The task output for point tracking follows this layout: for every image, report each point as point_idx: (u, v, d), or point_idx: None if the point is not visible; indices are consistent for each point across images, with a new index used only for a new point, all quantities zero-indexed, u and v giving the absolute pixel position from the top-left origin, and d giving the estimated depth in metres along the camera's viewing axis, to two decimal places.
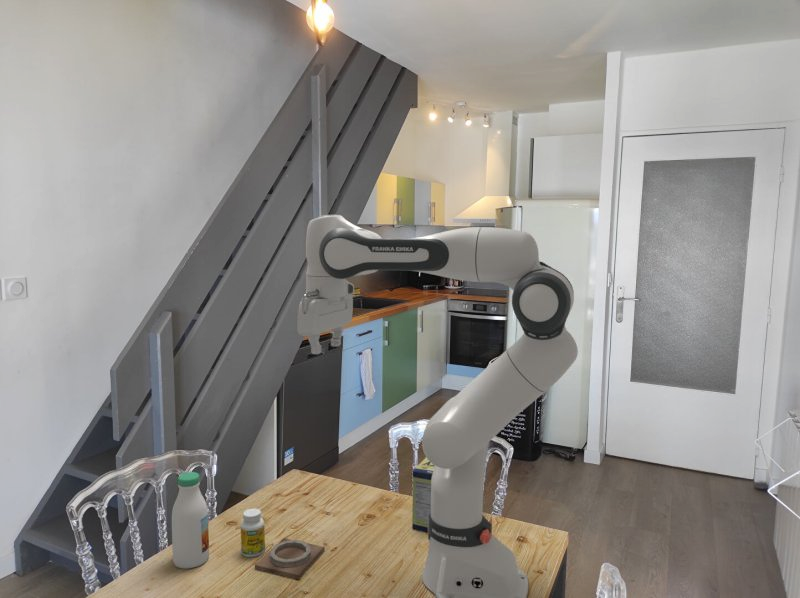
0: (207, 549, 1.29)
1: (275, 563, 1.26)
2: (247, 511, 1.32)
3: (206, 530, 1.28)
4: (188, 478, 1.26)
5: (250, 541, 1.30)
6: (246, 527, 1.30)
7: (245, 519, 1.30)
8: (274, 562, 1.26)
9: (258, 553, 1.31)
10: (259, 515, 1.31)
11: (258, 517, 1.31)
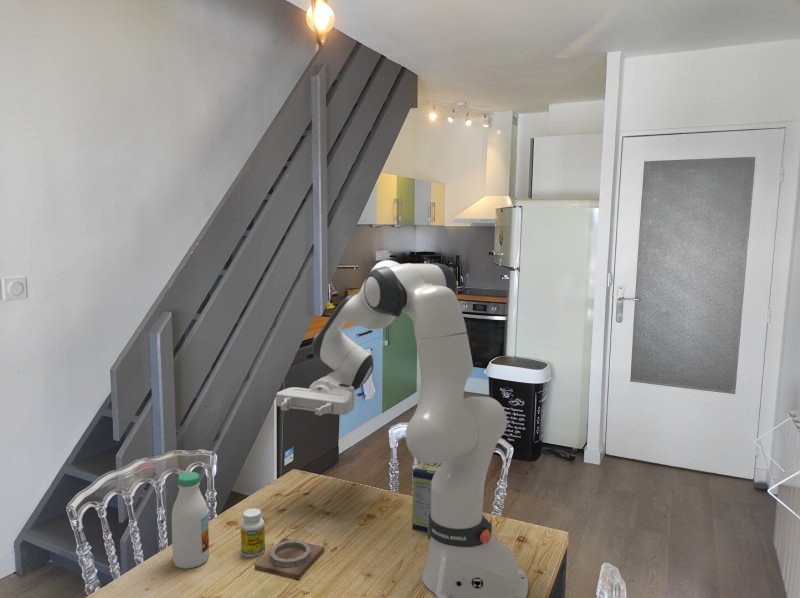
0: (207, 549, 1.29)
1: (275, 563, 1.26)
2: (247, 511, 1.32)
3: (206, 530, 1.28)
4: (188, 478, 1.26)
5: (250, 541, 1.30)
6: (246, 527, 1.30)
7: (245, 519, 1.30)
8: (274, 562, 1.26)
9: (258, 553, 1.31)
10: (259, 515, 1.31)
11: (258, 517, 1.31)
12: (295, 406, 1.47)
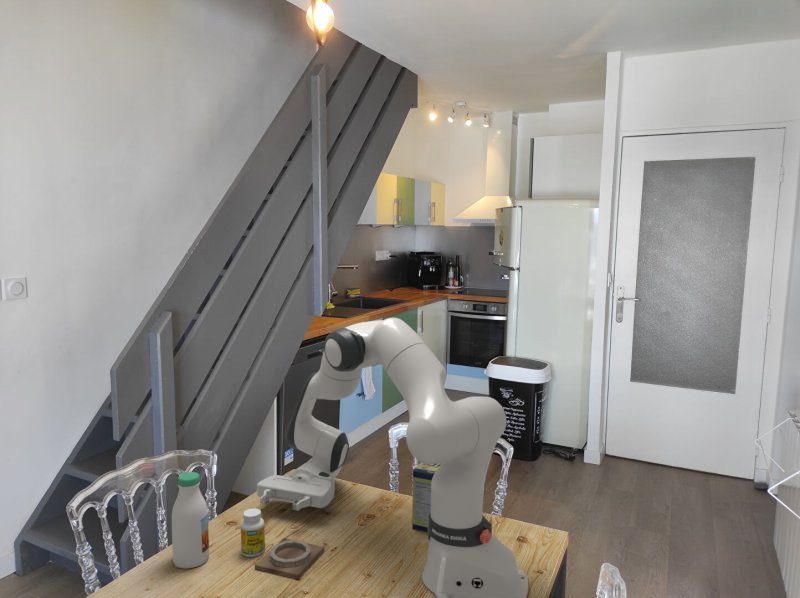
0: (207, 549, 1.29)
1: (275, 563, 1.26)
2: (247, 511, 1.32)
3: (206, 530, 1.28)
4: (188, 478, 1.26)
5: (250, 541, 1.30)
6: (246, 527, 1.30)
7: (245, 519, 1.30)
8: (274, 562, 1.26)
9: (258, 553, 1.31)
10: (259, 515, 1.31)
11: (258, 517, 1.31)
12: (275, 497, 1.49)
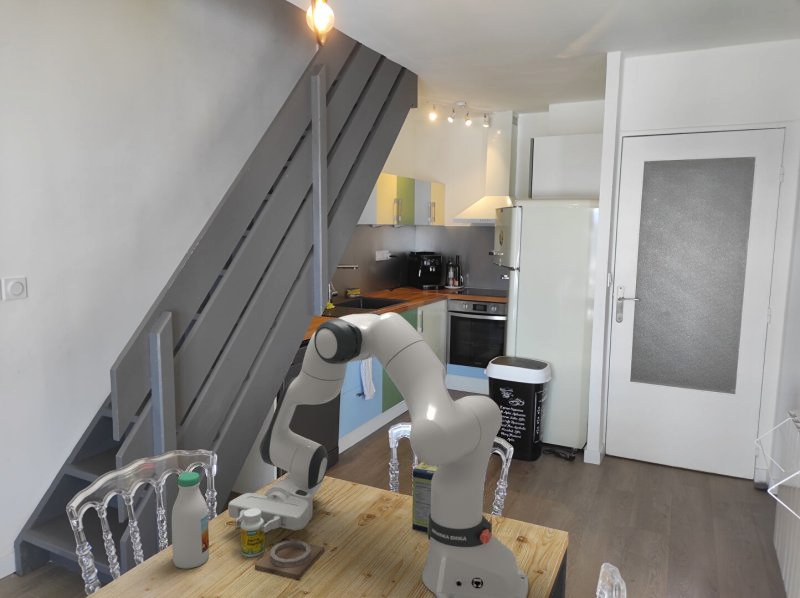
0: (207, 549, 1.29)
1: (275, 563, 1.26)
2: (247, 511, 1.32)
3: (206, 530, 1.28)
4: (188, 478, 1.26)
5: (250, 541, 1.30)
6: (246, 527, 1.30)
7: (245, 519, 1.30)
8: (274, 562, 1.26)
9: (258, 553, 1.31)
10: (259, 515, 1.31)
11: (258, 517, 1.31)
12: None
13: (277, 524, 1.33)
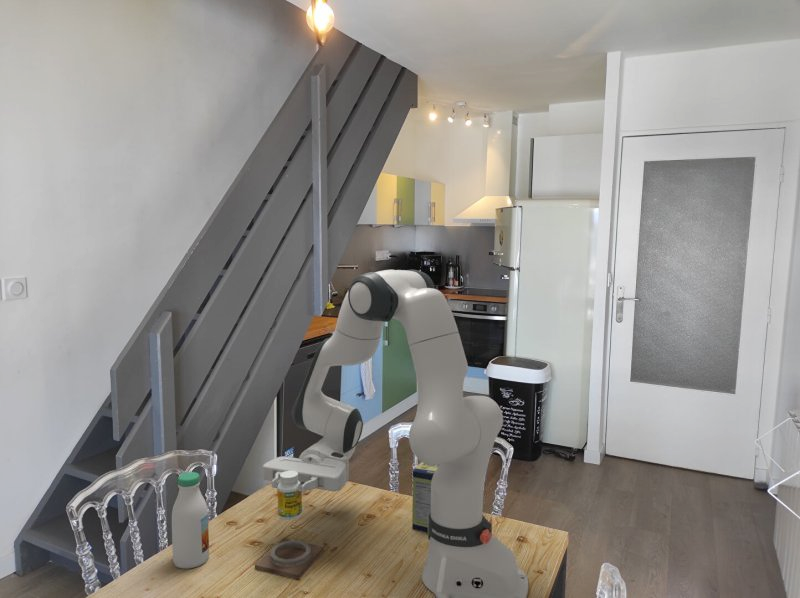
0: (207, 549, 1.29)
1: (275, 563, 1.26)
2: (284, 473, 1.28)
3: (206, 530, 1.28)
4: (188, 478, 1.26)
5: (288, 503, 1.25)
6: (283, 488, 1.25)
7: (282, 480, 1.26)
8: (274, 562, 1.26)
9: (296, 516, 1.26)
10: (296, 477, 1.27)
11: (295, 478, 1.26)
12: None
13: (315, 485, 1.28)
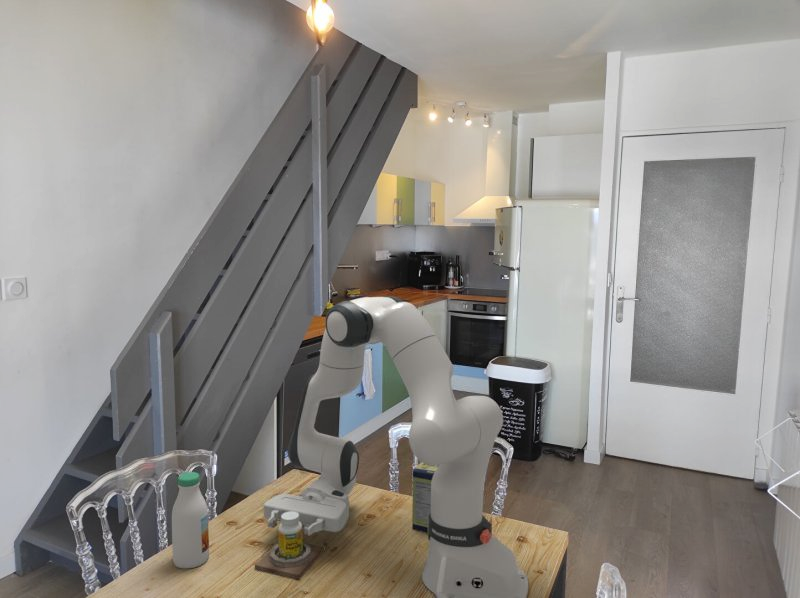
0: (207, 549, 1.29)
1: (275, 563, 1.26)
2: (285, 514, 1.29)
3: (206, 530, 1.28)
4: (188, 478, 1.26)
5: (289, 545, 1.27)
6: (284, 530, 1.26)
7: (283, 522, 1.27)
8: (274, 562, 1.26)
9: (296, 557, 1.28)
10: (297, 518, 1.28)
11: (296, 520, 1.28)
12: None
13: (320, 527, 1.29)
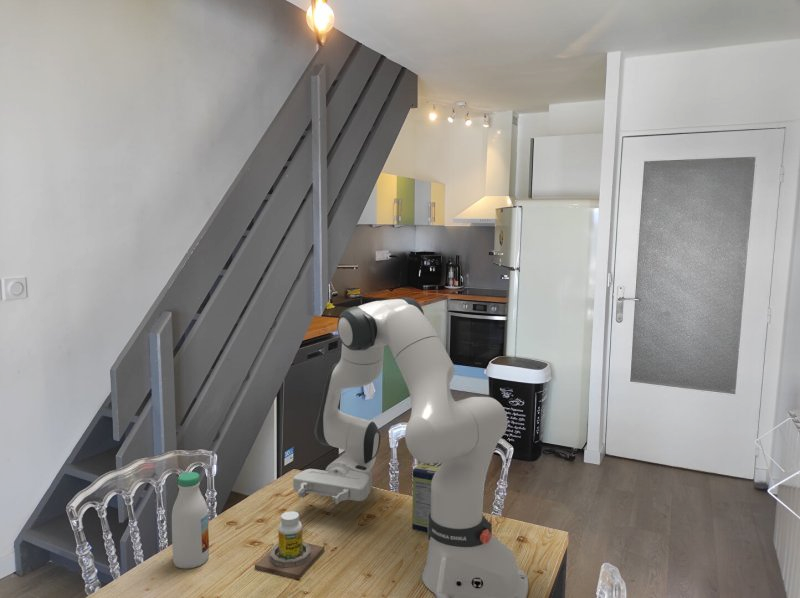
0: (207, 549, 1.29)
1: (275, 563, 1.26)
2: (285, 514, 1.29)
3: (206, 530, 1.28)
4: (188, 478, 1.26)
5: (289, 545, 1.27)
6: (284, 530, 1.26)
7: (283, 522, 1.27)
8: (274, 562, 1.26)
9: (296, 557, 1.28)
10: (297, 518, 1.28)
11: (296, 520, 1.28)
12: (312, 491, 1.46)
13: (346, 496, 1.41)
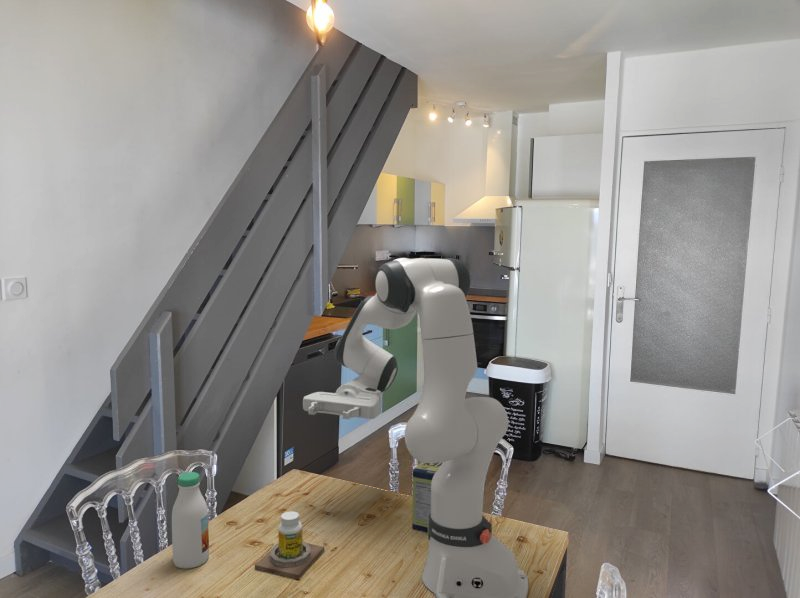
0: (207, 549, 1.29)
1: (275, 563, 1.26)
2: (285, 514, 1.29)
3: (206, 530, 1.28)
4: (188, 478, 1.26)
5: (289, 545, 1.27)
6: (284, 530, 1.26)
7: (283, 522, 1.27)
8: (274, 562, 1.26)
9: (296, 557, 1.28)
10: (297, 518, 1.28)
11: (296, 520, 1.28)
12: (322, 410, 1.46)
13: (357, 413, 1.41)
